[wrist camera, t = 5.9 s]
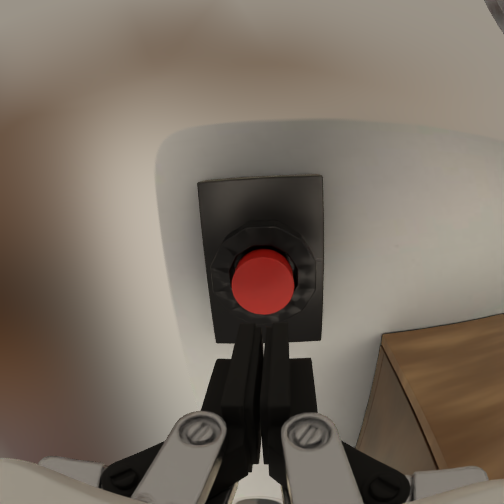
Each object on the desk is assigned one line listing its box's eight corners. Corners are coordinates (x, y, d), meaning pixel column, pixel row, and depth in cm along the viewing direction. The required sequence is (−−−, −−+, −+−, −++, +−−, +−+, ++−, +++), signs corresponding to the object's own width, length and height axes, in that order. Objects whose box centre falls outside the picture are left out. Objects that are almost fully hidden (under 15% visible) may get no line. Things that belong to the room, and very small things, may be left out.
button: (232, 249, 18) (228, 258, 17) (291, 247, 18) (293, 256, 16) (237, 302, 19) (234, 315, 18) (293, 300, 19) (294, 313, 17)
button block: (204, 180, 21) (189, 184, 17) (317, 174, 20) (327, 176, 16) (220, 329, 24) (211, 357, 20) (317, 326, 24) (324, 354, 20)
